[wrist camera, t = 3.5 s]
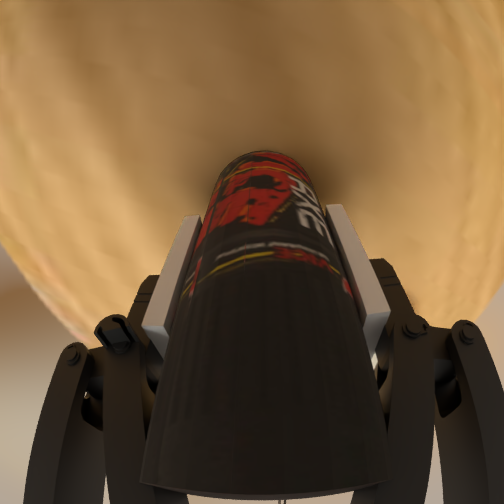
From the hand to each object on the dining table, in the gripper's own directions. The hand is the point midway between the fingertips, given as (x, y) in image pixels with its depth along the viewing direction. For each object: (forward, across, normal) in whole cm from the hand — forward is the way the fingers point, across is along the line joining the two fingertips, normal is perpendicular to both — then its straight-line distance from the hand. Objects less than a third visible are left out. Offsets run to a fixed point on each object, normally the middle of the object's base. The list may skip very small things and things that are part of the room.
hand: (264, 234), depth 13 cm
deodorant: (+4, 0, 0) cm, 4 cm away
